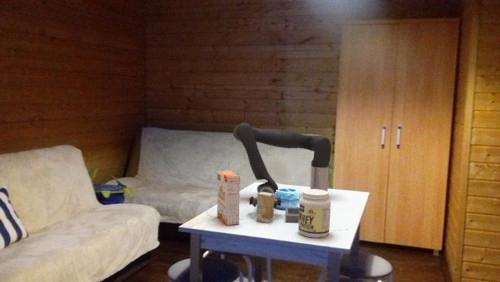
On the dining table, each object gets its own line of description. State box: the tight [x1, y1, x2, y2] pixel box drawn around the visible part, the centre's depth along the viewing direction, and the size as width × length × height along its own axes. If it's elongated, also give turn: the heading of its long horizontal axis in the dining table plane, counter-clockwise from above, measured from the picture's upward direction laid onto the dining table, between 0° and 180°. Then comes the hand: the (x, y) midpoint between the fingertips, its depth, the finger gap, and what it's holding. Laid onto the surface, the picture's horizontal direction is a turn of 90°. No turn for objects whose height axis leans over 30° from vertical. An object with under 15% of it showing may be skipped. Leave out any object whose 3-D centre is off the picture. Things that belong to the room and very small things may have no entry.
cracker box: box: [216, 169, 241, 226], centre depth 184 cm, size 14×6×21 cm, turn 21°
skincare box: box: [255, 192, 275, 224], centre depth 185 cm, size 6×4×12 cm
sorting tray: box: [284, 207, 299, 224], centre depth 191 cm, size 13×13×3 cm
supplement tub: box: [298, 188, 332, 239], centre depth 170 cm, size 12×12×17 cm
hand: (264, 205), depth 187 cm, fingers open, 8 cm apart
